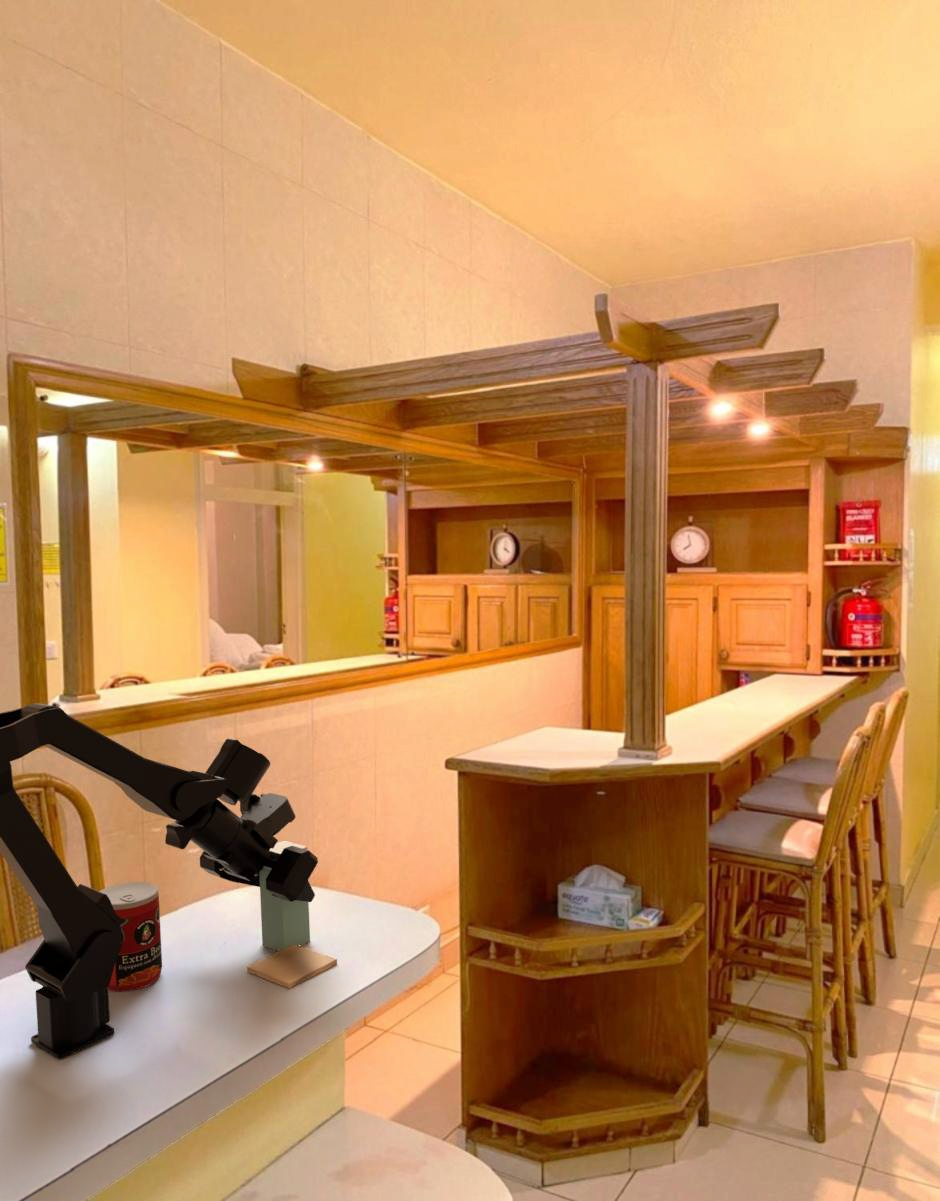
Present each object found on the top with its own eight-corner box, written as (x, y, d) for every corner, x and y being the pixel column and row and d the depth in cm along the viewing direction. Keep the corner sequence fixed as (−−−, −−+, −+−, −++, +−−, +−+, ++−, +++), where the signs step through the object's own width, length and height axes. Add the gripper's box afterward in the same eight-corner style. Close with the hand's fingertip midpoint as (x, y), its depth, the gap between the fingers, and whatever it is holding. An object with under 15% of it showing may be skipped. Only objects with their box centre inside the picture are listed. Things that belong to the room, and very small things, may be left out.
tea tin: (284, 953, 121) (280, 856, 121) (261, 945, 124) (257, 850, 123) (311, 941, 125) (307, 846, 124) (288, 933, 128) (284, 840, 127)
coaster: (289, 988, 112) (289, 983, 111) (247, 971, 116) (246, 966, 116) (337, 963, 118) (336, 959, 118) (295, 948, 123) (294, 944, 123)
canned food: (121, 998, 110) (116, 909, 110) (85, 981, 115) (80, 895, 114) (175, 974, 116) (171, 889, 116) (139, 958, 121) (135, 877, 121)
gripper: (302, 789, 114) (370, 852, 123) (214, 770, 126) (281, 828, 135) (253, 870, 108) (328, 929, 118) (166, 841, 120) (239, 897, 129)
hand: (293, 892), depth 125 cm, fingers open, 7 cm apart
